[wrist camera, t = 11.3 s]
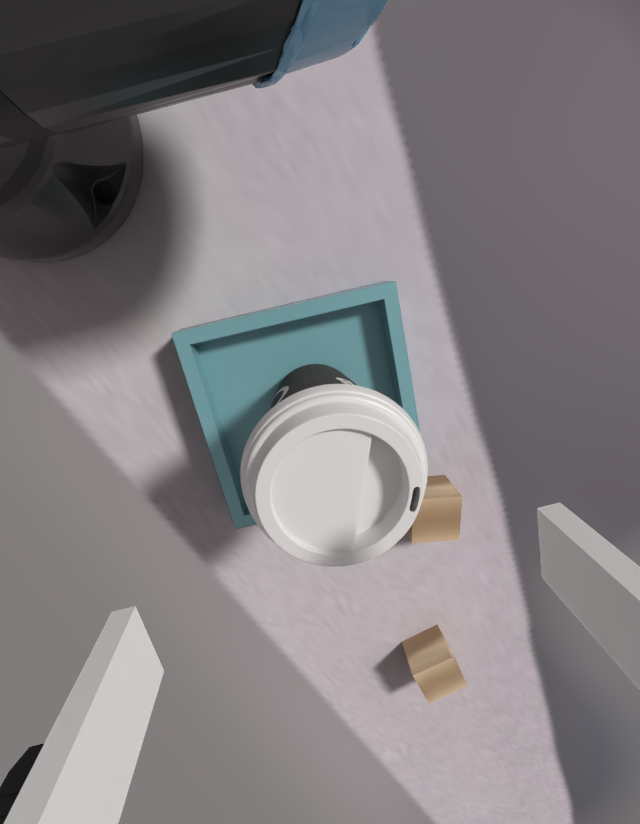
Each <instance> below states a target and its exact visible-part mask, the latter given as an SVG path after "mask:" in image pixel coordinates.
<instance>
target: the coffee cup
mask: <svg viewBox="0 0 640 824" xmlns="http://www.w3.org/2000/svg"><path fill="white" fill-rule="evenodd" d="M427 476H428V463H427V456H426V450H425V445H424V442H423V439H422V436H421V434H420V432H419V430H418V428H417V426H416V424H415V423H414V421H413V420H412V419H411V417H410V416H409V415H408V414H407V413H406V411H405V410H404V409H403V408H401V407H400V406H399V405H398V404H397V403H396V402H394V401H393V400H391V399H390V398H388V397H387V396H385V395H383V394H381V393H379V392H377V391H374V390H372V389H369V388H365V387H362V386H358V385H357V384H355V383H354V382H353V381H352V380H350V379H349V378H348V377H347V376H345V375H344V374H343V373H341V372H340V371H339V370H337V369H335V368H333V367H331V366H328V365H323V364H309V365H304V366H301V367H299V368H297V369H295V370H293V371H292V372H290V373H289V374H288V375H287V376H286V377H285V378H284V379H283V380H282V382H281V383H280V385H279V387H278V389H277V391H276V394H275V397H274V399H273V402H272V405H271V407H270V410H269V411H268V412H267V413H266V414H265V415H264V416H263V418H262V419H261V420H260V421H259V422H258V424H257V425H256V427H255V428H254V430H253V431H252V433H251V435H250V437H249V439H248V441H247V443H246V446H245V449H244V452H243V456H242V460H241V468H240V480H241V488H242V492H243V496H244V499H245V502H246V505H247V507H248V509H249V512H250V514H251V516H252V517H253V519H254V521H255V522H256V524H257V525H258V526H259V528H260V529H261V530H262V531H263V532H264V533H265V534H266V535H267V536H268V537H269V538H270V539H271V540H272V541H273V542H274V543H276V544H277V545H278V546H279V547H280V548H281V549H283V550H284V551H285V552H287V553H288V554H290V555H292V556H293V557H295V558H297V559H300V560H302V561H305V562H308V563H311V564H316V565H321V566H348V565H353V564H358V563H361V562H364V561H367V560H370V559H372V558H374V557H376V556H378V555H380V554H382V553H384V552H385V551H387V550H388V549H390V548H391V547H392V546H394V545H395V544H396V543H397V542H398V541H399V540H400V539H401V538H402V537H403V536H404V535H405V534H406V532H407V531H408V530H409V528H410V527H411V525H412V524H413V522H414V520H415V519H416V516H417V514H418V512H419V509H420V506H421V503H422V500H423V497H424V494H425V490H426V484H427Z"/></svg>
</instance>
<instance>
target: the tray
mask: <svg viewBox="0 0 640 824" xmlns="http://www.w3.org/2000/svg"><path fill="white" fill-rule="evenodd" d="M172 337H173V340H174V343H175V347H176V350H177V353H178V356H179V359H180V362H181V365H182V368H183V371H184V374H185V377H186V380H187V383H188V386H189V389H190V392H191V396H192V399H193V402H194V405H195V408H196V411H197V414H198V417H199V420H200V423H201V426H202V429H203V432H204V435H205V438H206V441H207V445H208V448H209V451H210V454H211V457H212V460H213V463H214V466H215V469H216V472H217V475H218V478H219V481H220V484H221V487H222V490H223V493H224V497H225V500H226V503H227V506H228V509H229V512H230V515H231V518H232V521H233V524H234V527H235V529H239V528H243V527H247V526H251V525H256V522H255V521H254V519H253V517H252V516H251V514H250V512H249V509H248V507H247V505H246V502H245V499H244V496H243V492H242V488H241V480H240V468H241V460H242V456H243V452H244V449H245V446H246V443H247V441H248V439H249V437H250V435H251V433H252V431H253V430H254V428H255V427H256V425H257V424H258V422H259V421H260V420H261V419H262V418H263V416H264V415H265V414H266V413H267V412H268V411H269V410H270V407H271V405H272V402H273V399H274V397H275V394H276V391H277V389H278V387H279V385H280V383H281V382H282V380H283V379H284V378H285V377H286V376H287V375H288V374H289V373H290V372H292V371H293V370H295V369H297V368H299V367H301V366H304V365H309V364H323V365H328V366H331V367H333V368H335V369H337V370H339V371H340V372H341V373H343V374H344V375H345V376H347V377H348V378H349V379H350V380H352V381H353V382H354V383H355V384H357V385H358V386H362V387H365V388H369V389H372V390H374V391H377V392H379V393H381V394H383V395H385V396H387V397H388V398H390V399H391V400H393V401H394V402H396V403H397V404H398V405H399V406H400V407H401V408H403V409H404V410H405V411H406V413H407V414H408V415H409V416H410V417H411V419H412V420H413V421H414V423H415V424H416V426H417V428H418V430H419V432H420V429H419V423H418V417H417V411H416V404H415V398H414V392H413V386H412V379H411V373H410V367H409V361H408V354H407V348H406V342H405V336H404V329H403V323H402V317H401V311H400V304H399V298H398V292H397V286H396V281H384V282H380V283H376V284H371V285H367V286H363V287H359V288H354V289H350V290H346V291H341V292H337V293H333V294H329V295H324V296H320V297H316V298H312V299H307V300H303V301H299V302H295V303H290V304H286V305H282V306H277V307H273V308H269V309H265V310H260V311H256V312H252V313H248V314H243V315H239V316H235V317H230V318H226V319H222V320H218V321H213V322H209V323H205V324H201V325H196V326H192V327H188V328H184V329H180V330H178V331H176V332H174V333H172ZM427 483H428V479H427Z"/></svg>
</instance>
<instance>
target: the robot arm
mask: <svg viewBox="0 0 640 824" xmlns="http://www.w3.org/2000/svg"><path fill="white" fill-rule="evenodd" d="M387 1H388V0H0V256H1V257H5V258H11V259H18V260H29V261H59V260H65V259H70V258H73V257H77V256H80V255H82V254H85V253H87V252H89V251H91V250H93V249H95V248H96V247H98V246H99V245H101V244H102V243H104V242H105V241H106V240H107V239H109V238H110V237H111V236H112V235H113V234H114V233H115V232H116V231H117V230H118V228H119V227H120V226H121V225H122V223H123V222H124V221H125V219H126V218H127V216H128V214H129V212H130V211H131V208H132V206H133V204H134V202H135V199H136V197H137V193H138V190H139V186H140V182H141V176H142V167H143V146H142V137H141V131H140V126H139V121H138V118H137V114H140V113H144V112H148V111H152V110H155V109H159V108H163V107H167V106H171V105H174V104H178V103H182V102H186V101H189V100H193V99H197V98H201V97H205V96H208V95H212V94H216V93H220V92H223V91H227V90H231V89H235V88H239V87H242V86H246V85H250V84H253V85H254V86H255V87H256V88H263V87H268V86H271V85H273V84H275V83H276V82H277V81H279V80H280V79H281V78H282V77H283V76H284V75H285V74H287V73H291V72H294V71H297V70H300V69H303V68H306V67H309V66H312V65H315V64H318V63H321V62H324V61H328V60H331V59H334V58H336V57H339V56H341V55H343V54H345V53H346V52H348V51H349V50H351V49H352V48H354V47H355V46H356V45H357V44H358V43H359V42H360V41H361V40H362V38H363V37H364V35H365V34H366V32H367V31H368V29H369V28H370V26H371V25H372V24H373V23H374V22H376V21H377V19H378V18H379V16H380V14H381V13H382V11H383V9H384V7H385V5H386V3H387ZM537 516H538V530H539V543H540V557H541V571H542V579H543V580H544V581H545V582H546V583H547V584H548V585H549V587H551V589H552V590H553V591H554V592H555V594H556V595H557V596H558V597H559V598H560V599H561V600H562V601H563V603H564V604H565V605H566V606H567V607H568V609H570V611H571V612H572V613H573V614H574V615H575V617H576V618H577V619H578V620H579V621H580V622H581V623H582V625H583V626H584V627H585V628H586V629H587V630H588V632H589V633H590V634H591V635H592V636H593V637H594V638H595V639H596V641H597V642H598V643H599V644H600V645H601V646H602V647H603V649H604V650H605V651H606V652H607V653H608V654H609V656H610V657H611V658H612V659H613V660H614V661H615V663H616V664H617V665H618V666H619V667H620V668H621V670H622V671H623V672H624V673H625V674H626V675H627V676H628V678H629V679H630V680H631V681H632V682H633V683H634V684H635V686H636V687H637V688H638V689H639V690H640V567H639V566H638V565H637V564H636V563H634V562H633V561H632V560H631V559H629V558H628V557H627V556H625V555H624V554H623V553H622V552H620V551H619V550H618V549H617V548H616V547H614V546H613V545H612V544H611V543H609V542H608V541H607V540H606V539H605V538H603V537H602V536H601V535H600V534H598V533H597V532H596V531H595V530H593V529H592V528H591V527H590V526H588V525H587V524H586V523H584V522H583V521H582V520H581V519H580V518H578V517H577V516H576V515H575V514H573V513H572V512H571V511H570V510H568V509H567V508H566V507H565V506H564V505H562V504H561V503H556V504H552V505H548V506H544V507H540V508H537ZM163 672H164V670H163V668H162V665H161V663H160V661H159V659H158V656H157V654H156V652H155V649H154V647H153V645H152V643H151V640H150V638H149V636H148V634H147V631H146V629H145V627H144V624H143V622H142V620H141V618H140V615H139V613H138V611H137V609H136V606H133V607H129V608H125V609H121V610H117V611H113V612H111V614H110V616H109V618H108V620H107V622H106V624H105V626H104V628H103V630H102V632H101V634H100V636H99V637H98V639H97V641H96V643H95V645H94V647H93V649H92V651H91V653H90V655H89V657H88V659H87V661H86V663H85V665H84V667H83V669H82V671H81V673H80V675H79V677H78V679H77V681H76V683H75V685H74V687H73V689H72V690H71V692H70V695H69V696H68V699H67V700H66V702H65V704H64V706H63V708H62V710H61V712H60V714H59V716H58V718H57V720H56V722H55V724H54V726H53V728H52V730H51V732H50V734H49V735H48V737H47V740H46V742H45V743H44V744H40V745H36V746H32V747H29V749H28V750H27V751H26V752H25V753H24V754H23V756H22V757H21V758H20V759H19V760H18V762H17V763H16V764H15V765H14V767H13V768H12V769H11V770H10V771H9V773H8V774H7V776H6V778H5V780H4V782H3V783H2V785H1V787H0V824H118V822H119V819H120V816H121V812H122V809H123V806H124V802H125V799H126V796H127V792H128V789H129V786H130V782H131V779H132V776H133V772H134V769H135V766H136V762H137V759H138V756H139V752H140V749H141V746H142V742H143V739H144V736H145V732H146V729H147V725H148V722H149V719H150V716H151V712H152V709H153V706H154V702H155V699H156V696H157V692H158V689H159V686H160V682H161V679H162V676H163Z"/></svg>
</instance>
